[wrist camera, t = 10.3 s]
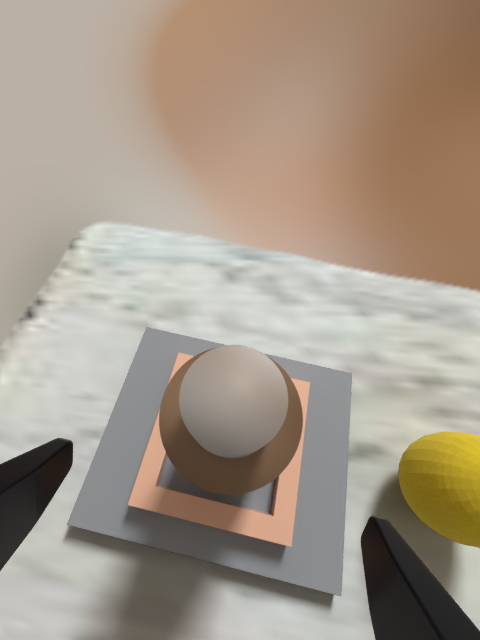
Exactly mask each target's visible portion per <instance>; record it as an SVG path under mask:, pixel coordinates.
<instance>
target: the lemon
mask: <svg viewBox="0 0 480 640" xmlns="http://www.w3.org/2000/svg"><path fill="white" fill-rule="evenodd" d="M398 476H399V484H400V488H401V490H402V493H403V496H404V498H405V500H406V502H407V503H408V505H409V507H410V508H411V510H412V511H413V512H414V513H415V514H416V515H417V517H418V518H419V519H420V520H421V521H422V522H423V523H425V524H426V525H427V526H429V527H430V528H431V529H432V530H434V531H435V532H437V533H438V534H440V535H442V536H444V537H447V538H449V539H451V540H453V541H455V542H457V543H460V544H464V545H469V546H474V547H480V437H479V436H476V435H472V434H468V433H461V432H439V433H435V434H431V435H427V436H424V437H422V438H420V439H418V440H417V441H415V442H414V443H412V444H411V445H410V446H409V447H408V448H407V449H406V451H405V452H404V453H403V455H402V458H401V461H400V463H399V472H398Z"/></svg>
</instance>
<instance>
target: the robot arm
mask: <svg viewBox="0 0 480 640" xmlns="http://www.w3.org/2000/svg"><path fill="white" fill-rule="evenodd" d="M72 462H73V443H72V441H71V440H67V439H63V438H57V439H54V440H52V441H50V442H48V443H46V444H43V445H41V446H39V447H37V448H35V449H32V450H30V451H28V452H26V453H24V454H22V455H19V456H17V457H15V458H13V459H11V460H8V461H6V462H4V463H2V464H0V571H1V569H2V568H3V567H4V565H5V564H6V563H7V561H8V560H9V559H10V557H11V556H12V555H13V553H14V552H15V551H16V549H17V548H18V547H19V545H20V544H21V543H22V541H23V540H24V539H25V538H26V536H27V535H28V534H29V532H30V531H31V530H32V528H33V527H34V525H35V524H36V523H37V521H38V520H39V518H40V517H41V515H42V514H43V512H44V510H45V509H46V507H47V506H48V504H49V502H50V501H51V499H52V498H53V496H54V494H55V493H56V491H57V490H58V488H59V486H60V485H61V483H62V482H63V480H64V478H65V477H66V475H67V474H68V472H69V470H70V468H71V466H72ZM361 548H362V556H363V564H364V572H365V580H366V588H367V596H368V603H369V610H370V615H371V620H372V625H373V629H374V634H375V639H376V640H480V631H479V630H478V628H477V627H476V626H475V625H474V624H473V622H472V621H471V620H470V619H469V618H468V616H467V615H466V614H465V613H464V611H463V610H462V609H461V608H460V607H459V605H458V604H457V603H456V602H455V601H454V599H453V598H452V597H451V596H450V595H449V593H448V592H447V591H446V590H445V589H444V587H443V586H442V585H441V584H440V583H439V581H438V580H437V579H436V578H435V577H434V575H433V574H432V573H431V572H430V571H429V569H428V568H427V567H426V566H425V564H424V563H423V562H422V561H421V560H420V558H419V557H418V556H417V555H416V554H415V552H414V551H413V550H412V549H411V548H410V546H409V545H408V544H407V543H406V542H405V540H404V539H403V538H402V537H401V536H400V534H399V533H398V532H397V531H396V530H395V528H394V527H393V526H392V525H391V523H390V522H389V521H388V520H387V519H385V518H382V517H378V516H371V517H370V518H369V520H368V522H367V524H366V526H365V529H364V531H363V533H362V536H361Z"/></svg>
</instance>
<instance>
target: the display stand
mask: <svg viewBox="0 0 480 640" xmlns="http://www.w3.org/2000/svg"><path fill="white" fill-rule="evenodd" d="M221 346H226V345H223V344H219V343H215V342H210V341H206V340H201V339H197V338H192V337H188V336H184V335H179V334H175V333H170V332H166V331H161V330H157V329H152V328H148V327H146V330H145V332H144V335H143V337H142V340H141V342H140V345H139V347H138V350H137V352H136V354H135V357H134V359H133V362H132V364H131V367H130V369H129V372H128V374H127V377H126V379H125V382H124V384H123V387H122V389H121V392H120V394H119V397H118V399H117V402H116V404H115V407H114V409H113V412H112V414H111V416H110V419H109V421H108V424H107V426H106V429H105V431H104V434H103V436H102V439H101V441H100V444H99V446H98V449H97V451H96V454H95V456H94V459H93V461H92V464H91V466H90V469H89V471H88V474H87V476H86V478H85V481H84V483H83V486H82V488H81V491H80V493H79V496H78V498H77V501H76V503H75V506H74V508H73V511H72V513H71V516H70V518H69V521H68V523H67V525H71V526H75V527H79V528H82V529H86V530H90V531H94V532H98V533H101V534H105V535H109V536H113V537H117V538H120V539H124V540H128V541H132V542H136V543H140V544H143V545H147V546H151V547H155V548H159V549H162V550H166V551H170V552H174V553H178V554H181V555H185V556H189V557H193V558H197V559H201V560H204V561H208V562H212V563H216V564H220V565H223V566H227V567H231V568H235V569H239V570H242V571H246V572H250V573H254V574H258V575H262V576H265V577H269V578H273V579H277V580H281V581H284V582H288V583H292V584H296V585H300V586H303V587H307V588H311V589H315V590H319V591H323V592H326V593H330V594H334V595H338V596H341V591H342V570H343V550H344V529H345V508H346V488H347V467H348V446H349V425H350V405H351V384H352V373H348V372H343V371H339V370H334V369H330V368H326V367H321V366H317V365H312V364H308V363H303V362H299V361H294V360H290V359H286V358H281V357H277V356H272V355H268V354H265V355H267V356H269V357H270V358H272V359H273V360H274V361H276V362H277V363H278V364H279V365H280V366H281V367H282V368H283V369H284V370H285V371H286V373H287V374H288V375H289V377H290V378H291V380H292V381H293V383H294V385H295V387H296V389H297V391H298V394H299V397H300V400H301V406H302V412H303V428H302V434H301V439H300V442H299V445H298V448H297V451H296V453H295V455H294V457H293V459H292V460H291V462H290V463H289V465H288V466H287V467H286V468H285V470H284V471H283V472H282V473H281V474H280V475H279V476H278V477H277V478H275V479H274V480H273V481H272V482H270V483H269V484H267V485H265V486H264V487H261V488H259V489H257V490H255V491H251V492H248V493H244V494H236V495H224V494H218V493H213V492H210V491H207V490H204V489H202V488H200V487H198V486H196V485H194V484H193V483H191V482H190V481H189V480H187V479H186V478H185V477H184V476H183V475H182V474H181V473H179V472H178V470H177V469H176V468H175V467H174V465H173V464H172V463H171V461H170V459H169V457H168V456H167V454H166V451H165V449H164V446H163V444H162V440H161V436H160V428H159V412H160V405H161V402H162V398H163V395H164V392H165V390H166V387H167V385H168V384H169V382H170V380H171V379H172V377H173V376H174V374H175V373H176V372H177V371H178V370H179V369H180V367H181V366H182V365H183V364H185V363H186V362H187V361H188V360H189V359H191V358H193V357H194V356H196V355H197V354H199V353H201V352H204V351H206V350H209V349H212V348H216V347H221Z"/></svg>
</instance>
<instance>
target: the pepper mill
mask: <svg viewBox="0 0 480 640" xmlns="http://www.w3.org/2000/svg"><path fill="white" fill-rule="evenodd" d="M159 428H160V436H161V440H162V444H163V446H164V449H165V451H166V454H167V456H168V457H169V459H170V461H171V463H172V464H173V465H174V467H175V468H176V469H177V470H178V472H179V473H181V474H182V475H183V476H184V477H185V478H186V479H187V480H189V481H190V482H191V483H193V484H194V485H196V486H198V487H200V488H202V489H204V490H207V491H210V492H213V493H218V494H224V495H236V494H244V493H248V492H251V491H255V490H257V489H259V488H261V487H264V486H265V485H267V484H269V483H270V482H272V481H273V480H274V479H275V478H277V477H278V476H279V475H280V474H281V473H282V472H283V471H284V470H285V468H286V467H287V466H288V465H289V463H290V462H291V460H292V459H293V457H294V455H295V453H296V451H297V448H298V445H299V442H300V439H301V434H302V428H303V412H302V406H301V400H300V397H299V394H298V391H297V389H296V387H295V385H294V383H293V381H292V380H291V378H290V377H289V375H288V374H287V373H286V371H285V370H284V369H283V368H282V367H281V366H280V365H279V364H278V363H277V362H276V361H274V360H273V359H272V358H270V357H269V356H267V355H265V354H263V353H261V352H259V351H258V350H255V349H253V348H250V347H246V346H241V345H226V346H221V347H216V348H212V349H209V350H206V351H204V352H201V353H199V354H197V355H196V356H194V357H193V358H191V359H189V360H188V361H187V362H186V363H185V364H183V365H182V366H181V367H180V369H179V370H178V371H177V372H176V373H175V374H174V376H173V377H172V379H171V380H170V382H169V384H168V385H167V387H166V390H165V392H164V395H163V398H162V402H161V405H160V412H159Z"/></svg>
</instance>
